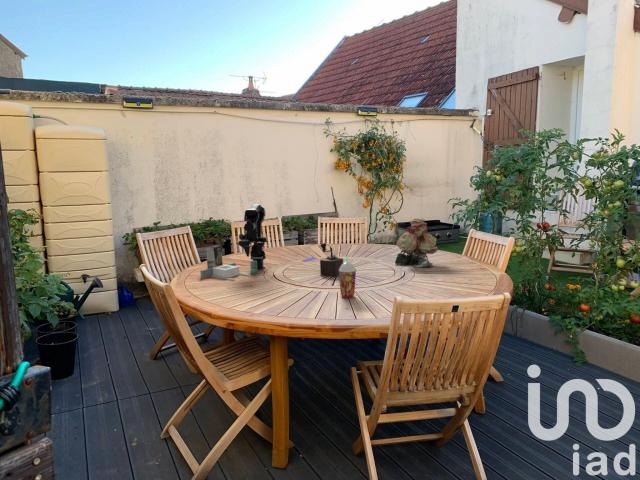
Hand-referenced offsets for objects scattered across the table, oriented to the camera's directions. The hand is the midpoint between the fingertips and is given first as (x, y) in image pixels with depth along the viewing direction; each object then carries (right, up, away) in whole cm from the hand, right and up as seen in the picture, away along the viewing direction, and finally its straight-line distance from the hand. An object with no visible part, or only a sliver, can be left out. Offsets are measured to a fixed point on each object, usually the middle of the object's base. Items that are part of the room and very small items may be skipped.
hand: (253, 255), depth 265 cm
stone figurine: (+104, -7, +22) cm, 107 cm away
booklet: (+41, -6, +38) cm, 56 cm away
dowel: (0, -12, +2) cm, 12 cm away
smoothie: (+54, -19, -50) cm, 76 cm away
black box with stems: (+46, -11, -1) cm, 47 cm away
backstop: (-14, -12, -3) cm, 19 cm away
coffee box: (-26, -11, +12) cm, 30 cm away
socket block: (-16, -12, -1) cm, 20 cm away
